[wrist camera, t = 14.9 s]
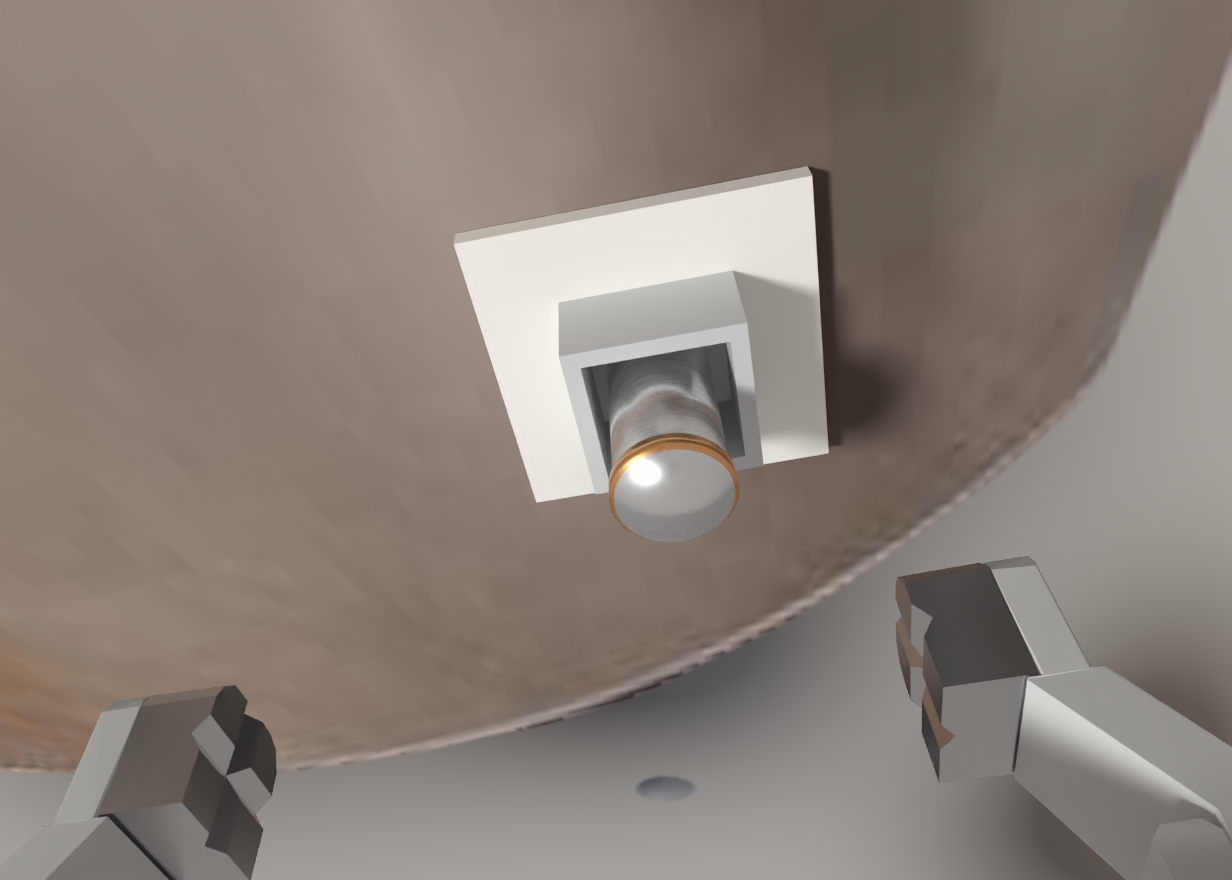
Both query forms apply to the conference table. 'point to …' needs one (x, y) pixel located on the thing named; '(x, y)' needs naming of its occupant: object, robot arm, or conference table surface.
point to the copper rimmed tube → (668, 447)
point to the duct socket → (655, 319)
